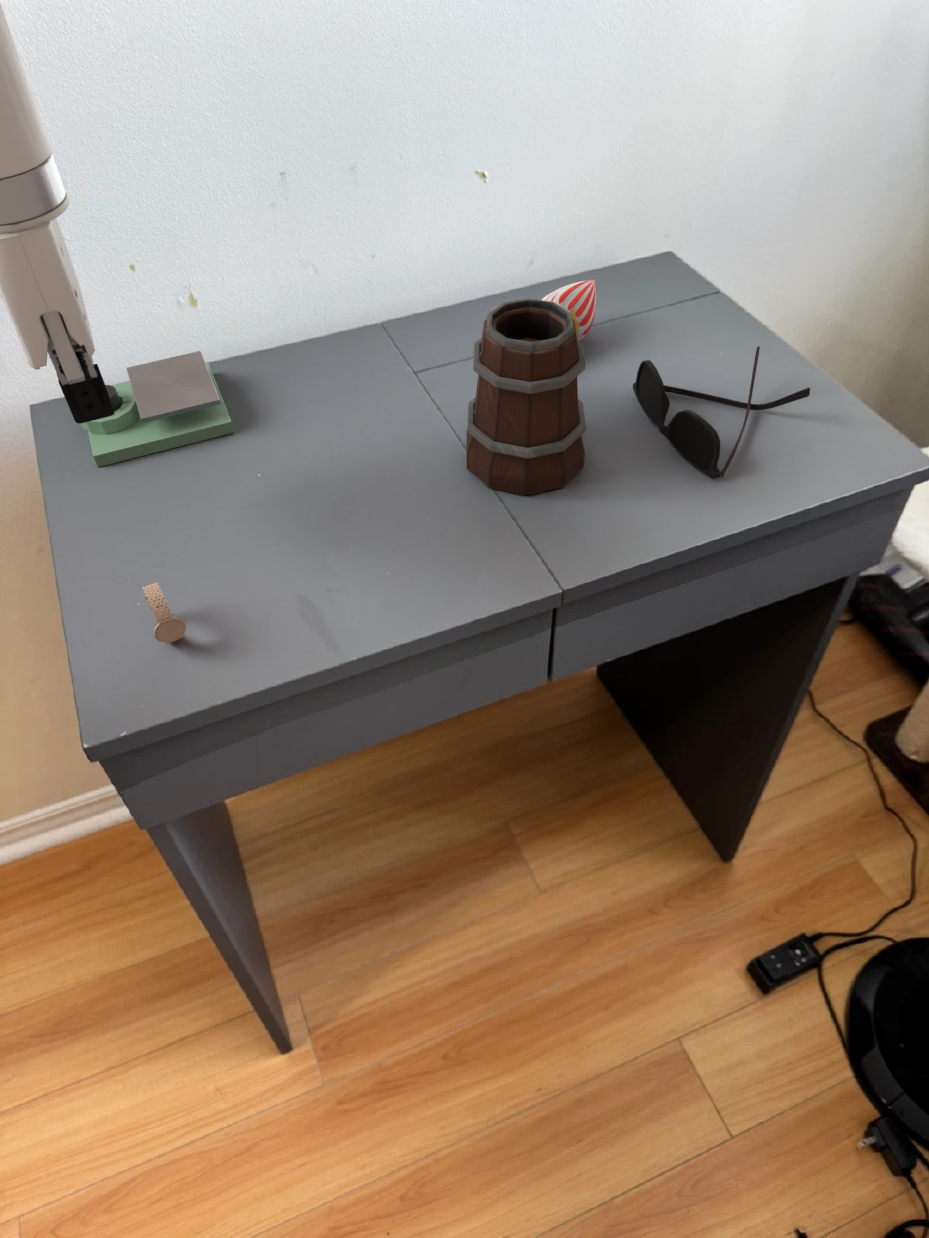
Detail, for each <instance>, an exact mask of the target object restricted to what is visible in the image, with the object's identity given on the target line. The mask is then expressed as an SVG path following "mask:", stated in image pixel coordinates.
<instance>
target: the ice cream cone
mask: <svg viewBox="0 0 929 1238" xmlns="http://www.w3.org/2000/svg"><path fill="white" fill-rule="evenodd" d="M541 300H543V301H550V302H554V303H556V304H557V305H559V306H561V307H562V308H564V309H565V310H567V311H568V312H570V313H572V318H573V320H574V321H575V328H576V335H577V340H579V341H581V342H582V341H583V340H584V339H585V338H586V337H587V335H588V333H589V332H590V331H591V328H592V326H593V323H594V319H595V314H596V305H597V304H596V303H597V290H596V280H595V279H589V280H582V281H581V280H580V281H577V282H574V283H571V284H567V285H563V286H561V287H559V288H557V289H555V290H554V291H552V292H550V293H548V294H547V295H545V296H544V297H543V298H542V299H541Z"/></svg>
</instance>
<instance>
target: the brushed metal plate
mask: <svg viewBox="0 0 929 1238" xmlns="http://www.w3.org/2000/svg"><path fill="white" fill-rule="evenodd" d="M206 363H207V362H206V360H205V358H204V356H203V352H202V351H201V350H197V351H193V352H189V353H185V354H181V355H176V356H172V357H167V358H162V359H159V360H154V361H150V362H146V363H142V364H138V365H133V366H127V367H126V372H127V376H128V379H129V381H130V383H131V386H132V390H133V393H134V397H135V401H136V404H137V408H138V411H139V415H140V418H141V421H142V423H146V422H150V421H154V420H158V419H163V418H167V417H171V416H175V415H179V414H183V413H187V412H191V411H195V410H199V409H203V408H207V407H211V406H215V405H220V404H221V402H220V399H219V396H218V394H217V391H216V388H215V386H214V383H213V381H212V378H211V376H210V373H209V371H208V368H207V365H206Z"/></svg>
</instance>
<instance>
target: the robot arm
mask: <svg viewBox="0 0 929 1238" xmlns="http://www.w3.org/2000/svg"><path fill="white" fill-rule="evenodd" d="M69 199H70V198H69V196H68V193H67V191H66V188H65V185H64V182H63V179H62V176H61V173H60V169H59V167H58V165H57V162H56V160H55V156H54V154H53V151H52V149H51V146H50V143H49V139H48V136H47V134H46V131H45V128H44V125H43V122H42V120H41V116H40V114H39V111H38V108H37V106H36V103H35V99H34V97H33V94H32V91H31V88H30V85H29V83H28V79H27V76H26V73H25V71H24V68H23V65H22V62H21V59H20V56H19V53H18V51H17V48H16V45H15V42H14V38H13V36H12V33H11V30H10V28H9V24H8V22H7V18H6V16H5V13H4V10H3V7H2V4H1V3H0V297H1V300H2V302H3V304H4V307H5V309H6V312H7V314H8V316H9V319H10V321H11V324H12V327H13V328H14V331H15V334H16V336H17V338H18V341H19V343H20V346H21V348H22V351H23V353H24V356H25V358H26V361H27V363H28V364H27V365H28V366H29V367H30V368H32V369H34V370H37V371H38V370H40V369H41V368H43V367H47V366H48V357H49V359H50V361H51V364H52V365H53V367H54V370H55V372H56V376H57V381H58V384H59V387H60V389H61V391H62V394H63V396H64V398H65V401H66V403H67V406H68V408H69V411H70V413H71V415H72V418H73V420H74V422H75V423H76V424H78V425H79V424H80V425H81V423H85V422H89V421H93V420H97V419H101V418H105V417H109V416H112V415H113V414H114V409H113V406H112V402H111V399H110V396H109V394H108V391H107V388H106V386H105V385H106V383H105V381H104V380H105V379H104V378H103V375H102V373H101V370H100V367H99V365H98V363H94V359H93V357H92V356H93V355H94V353H95V351H96V348H95V343H94V338H93V334H92V330H91V325H90V320H89V316H88V313H87V308H86V304H85V300H84V296H83V292H82V290H81V287H80V282H79V279H78V276H77V273H76V270H75V267H74V263H73V261H72V258H71V255H70V251H69V249H68V246H67V243H66V241H65V237H64V235H63V232H62V229H61V227H60V224H59V222H58V221H59V220H58V218H59V217H60V216H61V215H63V214H64V213H65V212H66V210H67V208H68V207H69V205H70V200H69Z"/></svg>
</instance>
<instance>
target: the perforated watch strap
mask: <svg viewBox="0 0 929 1238" xmlns="http://www.w3.org/2000/svg"><path fill="white" fill-rule="evenodd" d="M142 591H143V594H144V596H145V597H144V599H145V601H147V603H148V605H149V607H150V609H151V612H152V614H153V617H154V618H155V620H154V623H157V625H155V627H154V629H153V636H154V639H155V640H157V642H160V643H163V644H164V645H169V644H171V643H173V642H176V641H178V640H181V639H182V638H184V635H185V633H186V630H187V624H188V623H187V621H184V620H182V619H181V618H179V617H174V616H175V613H173V612H172V610H171V609H170V607H169V605H168V602H167V600H166V597H165V596H164V594H163V591H162V589H161V587H160V585H159V583H158V582H157V581H156V582H154V583H150V584H147V585H145V586H142Z"/></svg>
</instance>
